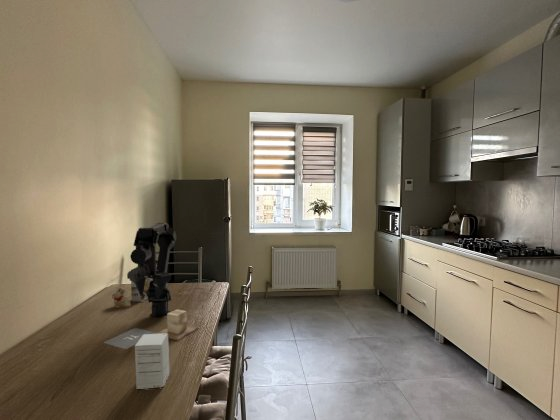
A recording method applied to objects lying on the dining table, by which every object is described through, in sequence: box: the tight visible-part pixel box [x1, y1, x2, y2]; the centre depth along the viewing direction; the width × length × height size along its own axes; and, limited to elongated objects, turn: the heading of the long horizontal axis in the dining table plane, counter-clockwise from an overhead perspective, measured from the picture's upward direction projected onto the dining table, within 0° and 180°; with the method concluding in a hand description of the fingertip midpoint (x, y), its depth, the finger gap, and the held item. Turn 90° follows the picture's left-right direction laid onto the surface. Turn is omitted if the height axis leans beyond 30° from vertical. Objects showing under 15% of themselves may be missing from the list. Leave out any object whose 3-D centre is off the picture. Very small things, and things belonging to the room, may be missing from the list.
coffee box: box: [130, 268, 153, 303], centre depth 165 cm, size 9×6×16 cm
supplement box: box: [134, 333, 171, 390], centre depth 91 cm, size 7×7×13 cm
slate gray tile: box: [102, 327, 157, 350], centre depth 120 cm, size 14×12×1 cm
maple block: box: [166, 309, 188, 334], centre depth 124 cm, size 5×5×7 cm
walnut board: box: [155, 324, 199, 341], centre depth 125 cm, size 11×11×1 cm
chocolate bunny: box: [111, 286, 132, 309], centre depth 154 cm, size 6×8×10 cm
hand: (149, 296), depth 130 cm, fingers open, 9 cm apart
